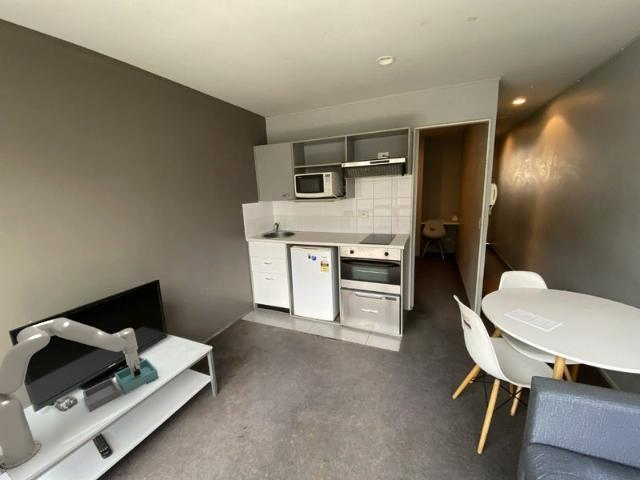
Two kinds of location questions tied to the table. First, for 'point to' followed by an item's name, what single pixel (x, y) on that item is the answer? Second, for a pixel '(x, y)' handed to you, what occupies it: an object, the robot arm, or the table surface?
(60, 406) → the egg carton
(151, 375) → the bin
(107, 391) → the bin
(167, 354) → the table surface
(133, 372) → the stone block
